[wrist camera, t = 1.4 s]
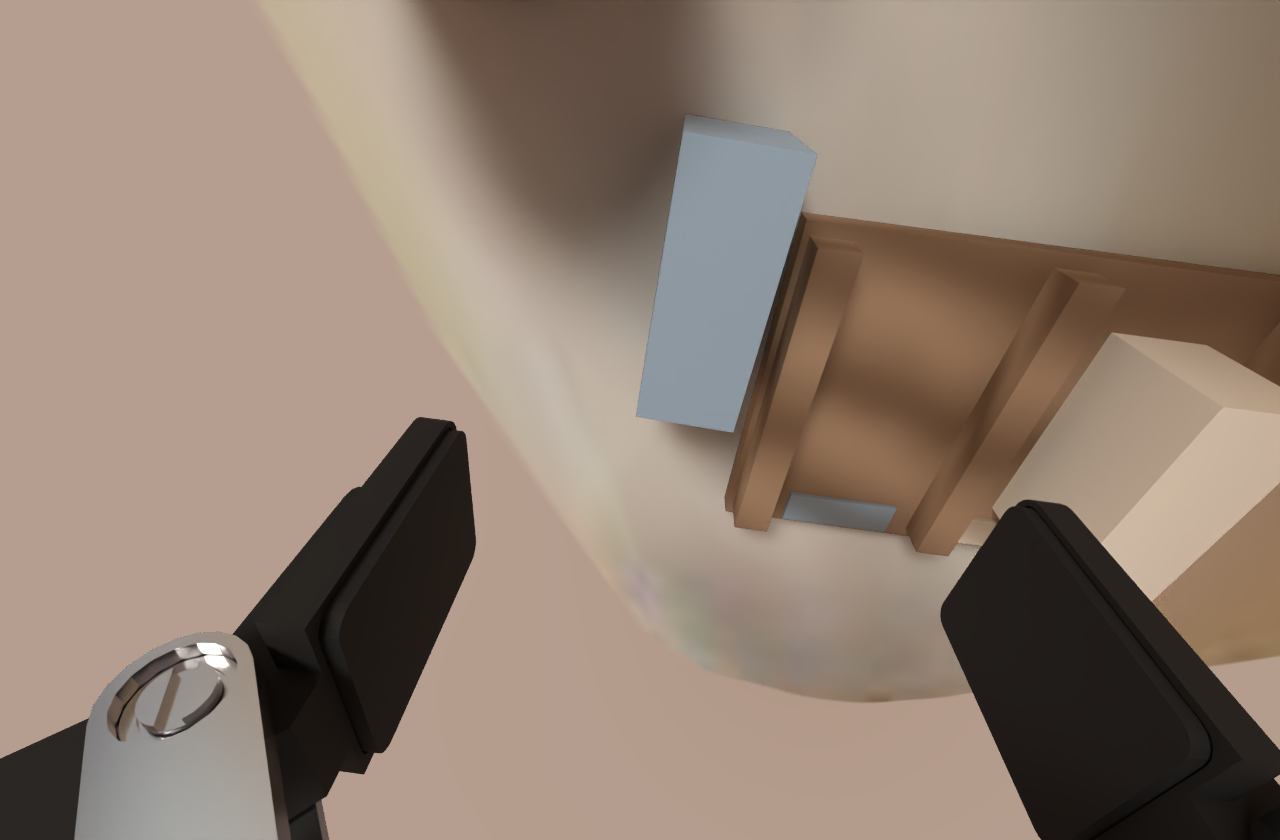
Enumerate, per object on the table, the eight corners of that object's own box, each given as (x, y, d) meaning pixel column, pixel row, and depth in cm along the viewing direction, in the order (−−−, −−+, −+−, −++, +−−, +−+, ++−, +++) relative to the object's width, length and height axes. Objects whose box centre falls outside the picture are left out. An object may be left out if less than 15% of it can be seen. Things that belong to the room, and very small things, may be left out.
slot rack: (801, 212, 19) (814, 231, 17) (1333, 282, 19) (1412, 310, 17) (724, 497, 27) (727, 533, 25) (1096, 547, 27) (1129, 588, 25)
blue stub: (685, 113, 18) (683, 131, 13) (788, 131, 18) (817, 154, 14) (646, 351, 23) (636, 416, 19) (725, 364, 23) (733, 432, 19)
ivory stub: (1111, 332, 19) (1223, 407, 15) (1206, 345, 19) (1344, 423, 15) (991, 507, 25) (1051, 598, 20) (1066, 517, 25) (1141, 610, 20)
